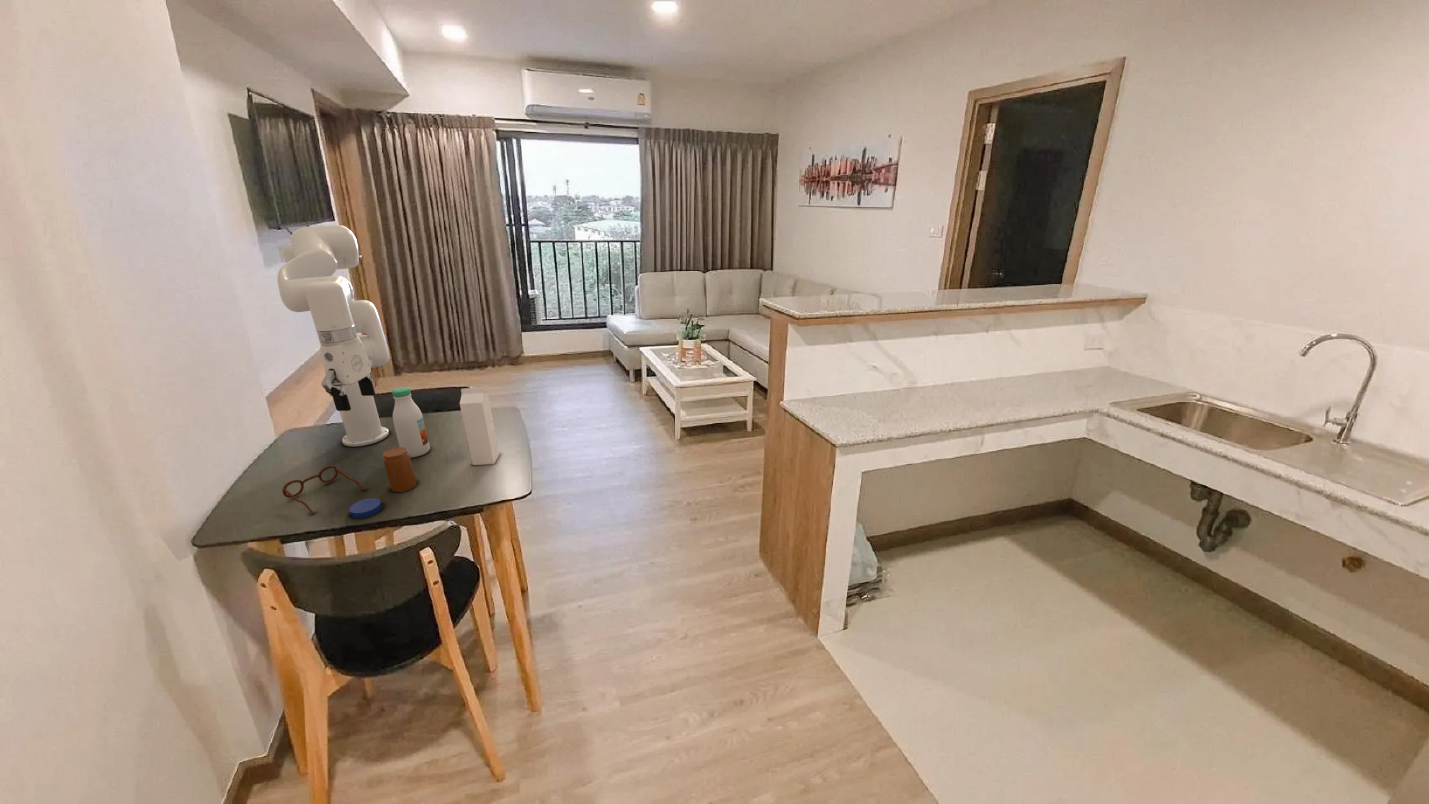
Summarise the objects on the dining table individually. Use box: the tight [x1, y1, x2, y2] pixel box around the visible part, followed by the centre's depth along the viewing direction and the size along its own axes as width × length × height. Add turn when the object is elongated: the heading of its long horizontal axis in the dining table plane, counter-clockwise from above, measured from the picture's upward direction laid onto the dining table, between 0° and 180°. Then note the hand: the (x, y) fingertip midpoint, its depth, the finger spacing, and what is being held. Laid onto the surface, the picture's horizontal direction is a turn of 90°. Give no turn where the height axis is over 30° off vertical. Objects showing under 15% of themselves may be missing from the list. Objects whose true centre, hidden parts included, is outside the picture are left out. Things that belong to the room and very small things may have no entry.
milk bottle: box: [391, 386, 431, 458], centre depth 161 cm, size 8×8×20 cm
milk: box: [459, 387, 500, 466], centre depth 155 cm, size 6×6×22 cm
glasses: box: [281, 465, 366, 515], centre depth 142 cm, size 13×13×5 cm
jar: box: [382, 446, 418, 493], centre depth 144 cm, size 6×6×10 cm
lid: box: [349, 497, 383, 519], centre depth 135 cm, size 7×7×2 cm
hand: (356, 402), depth 136 cm, fingers open, 9 cm apart
